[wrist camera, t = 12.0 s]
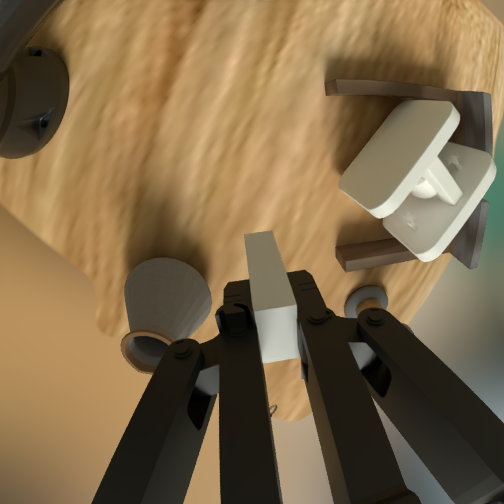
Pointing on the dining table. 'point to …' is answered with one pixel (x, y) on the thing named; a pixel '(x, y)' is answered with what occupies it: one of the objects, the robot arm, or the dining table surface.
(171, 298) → the coffee pot
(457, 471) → the robot arm
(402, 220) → the cable organizer
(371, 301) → the mushroom drawer knob
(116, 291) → the dining table surface
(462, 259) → the notched bay
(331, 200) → the dining table surface
